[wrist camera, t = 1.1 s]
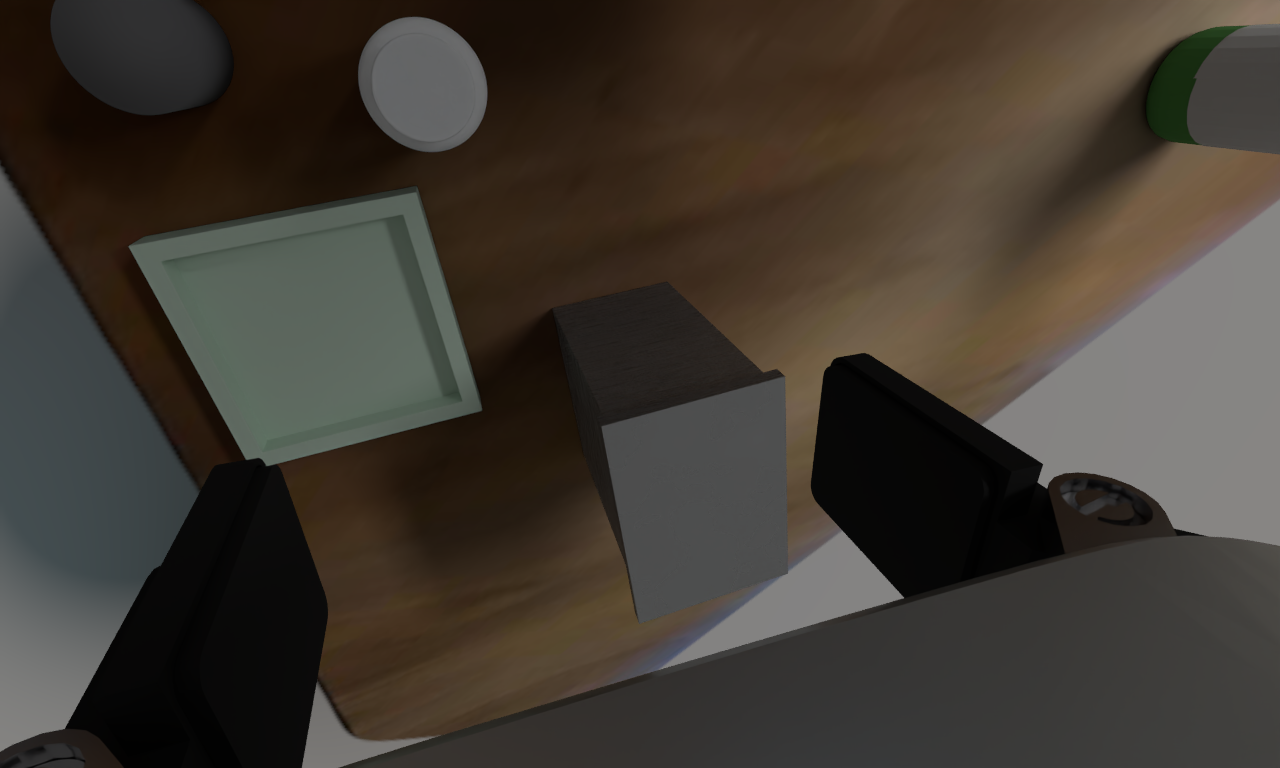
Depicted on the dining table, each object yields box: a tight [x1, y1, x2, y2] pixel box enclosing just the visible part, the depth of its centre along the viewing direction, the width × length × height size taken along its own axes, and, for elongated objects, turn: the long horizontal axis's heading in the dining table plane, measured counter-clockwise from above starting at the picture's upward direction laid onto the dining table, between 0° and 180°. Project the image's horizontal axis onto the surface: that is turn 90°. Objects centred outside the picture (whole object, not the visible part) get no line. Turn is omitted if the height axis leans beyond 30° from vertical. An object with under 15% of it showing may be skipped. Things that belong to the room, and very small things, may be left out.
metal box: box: [552, 282, 788, 624], centre depth 38 cm, size 9×13×16 cm
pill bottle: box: [358, 17, 487, 152], centre depth 29 cm, size 5×5×10 cm
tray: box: [128, 186, 482, 466], centre depth 36 cm, size 14×14×2 cm
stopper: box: [50, 0, 234, 115], centre depth 27 cm, size 5×5×5 cm
